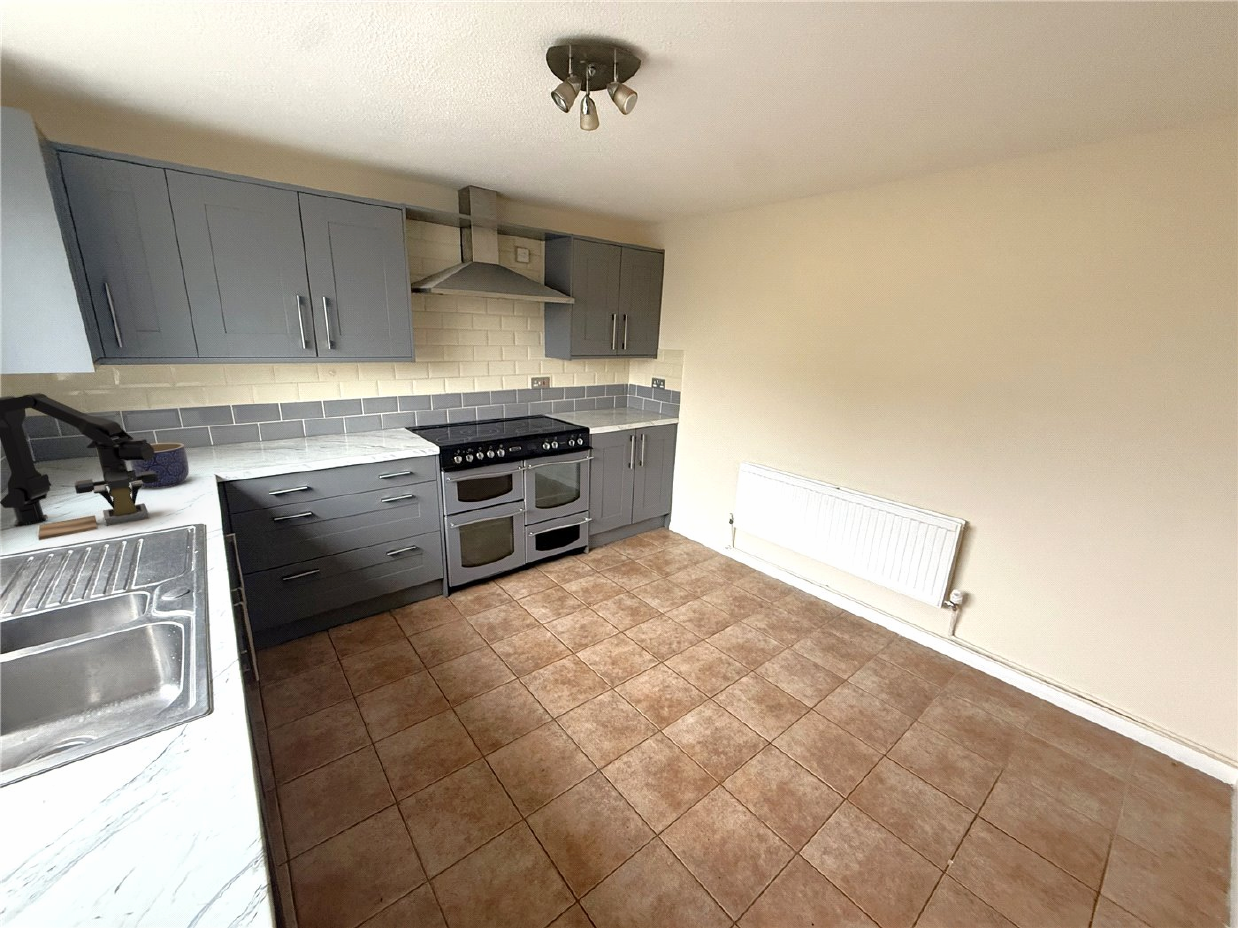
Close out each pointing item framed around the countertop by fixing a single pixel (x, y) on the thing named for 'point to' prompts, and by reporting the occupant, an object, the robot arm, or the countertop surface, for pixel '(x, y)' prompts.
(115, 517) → the steel collar
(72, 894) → the countertop surface
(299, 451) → the countertop surface
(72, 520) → the walnut board
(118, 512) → the cork
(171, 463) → the planter
